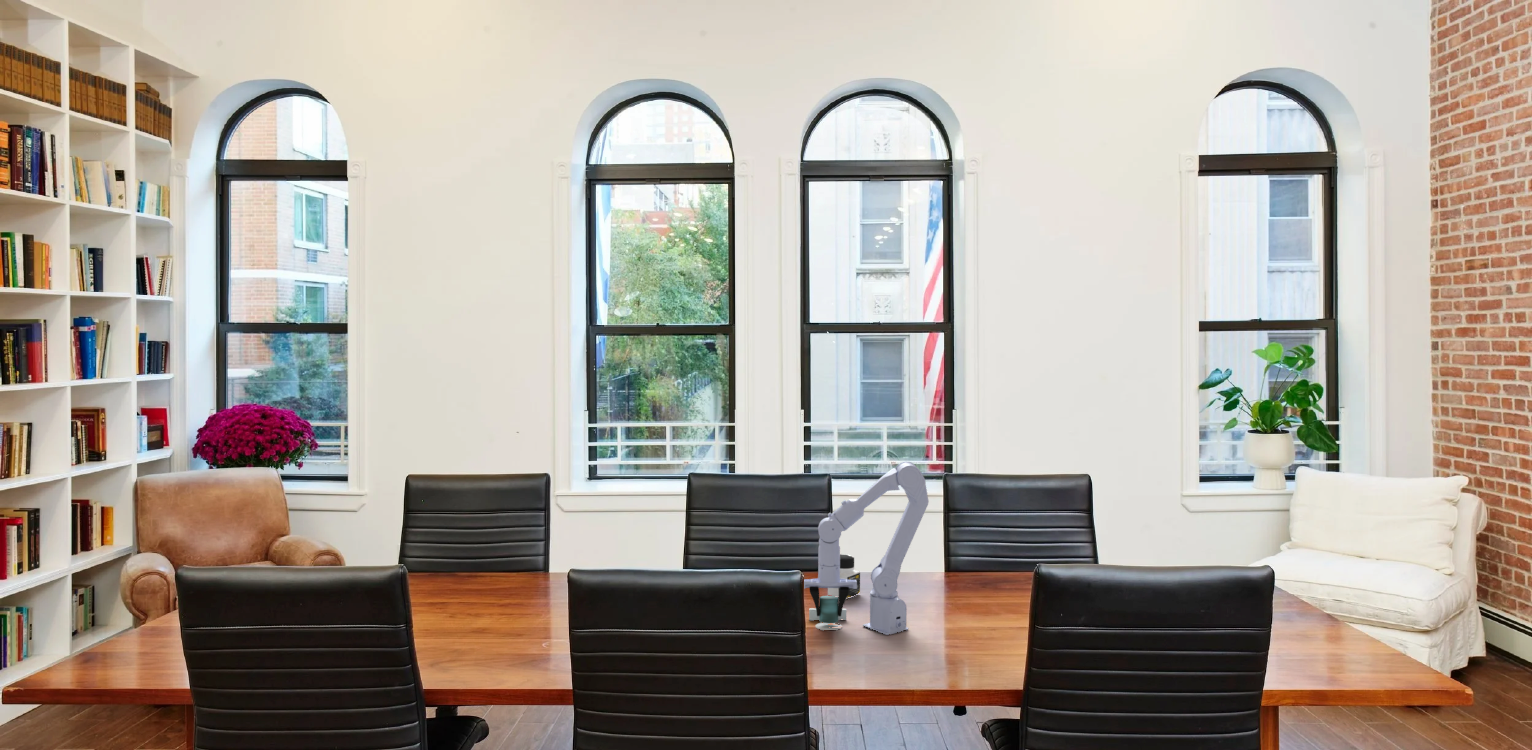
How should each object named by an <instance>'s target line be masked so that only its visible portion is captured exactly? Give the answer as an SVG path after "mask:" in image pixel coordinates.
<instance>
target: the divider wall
mask: <svg viewBox="0 0 1532 750" xmlns="http://www.w3.org/2000/svg"><path fill="white" fill-rule="evenodd" d="M808 619H809V621H814V620H819V616H817V611H816V607H815V608H813V607H811V608H810V607H809V608H808ZM841 619H843V620H846V621H847V608H842V613H841V616H838V620H841Z"/></svg>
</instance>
